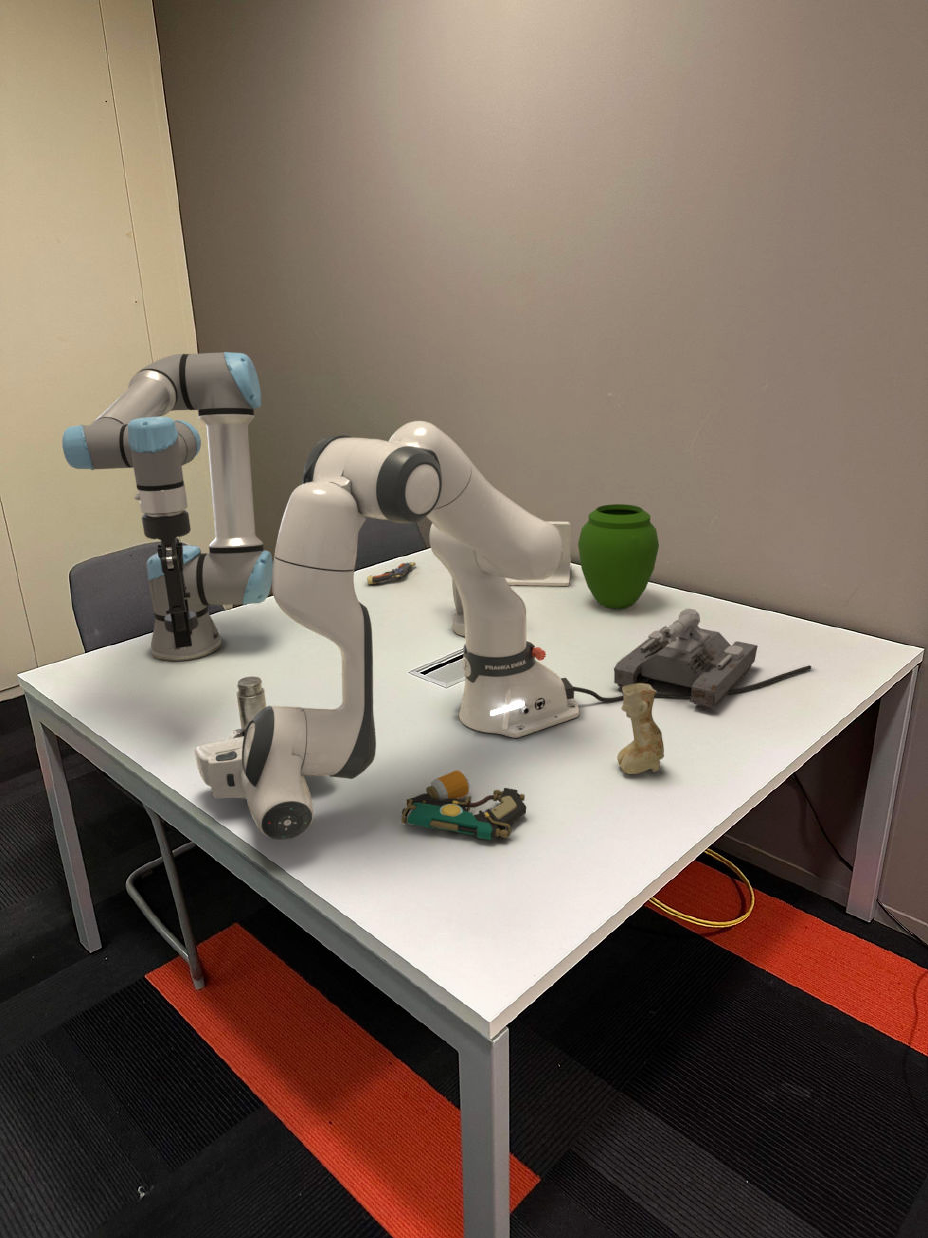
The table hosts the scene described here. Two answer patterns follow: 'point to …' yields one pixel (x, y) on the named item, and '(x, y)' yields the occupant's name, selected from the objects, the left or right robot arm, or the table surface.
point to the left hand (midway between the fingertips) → (184, 640)
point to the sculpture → (641, 731)
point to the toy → (688, 660)
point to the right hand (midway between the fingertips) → (254, 729)
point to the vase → (618, 554)
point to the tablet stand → (563, 570)
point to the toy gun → (391, 573)
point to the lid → (191, 617)
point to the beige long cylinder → (250, 699)
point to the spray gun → (463, 808)
